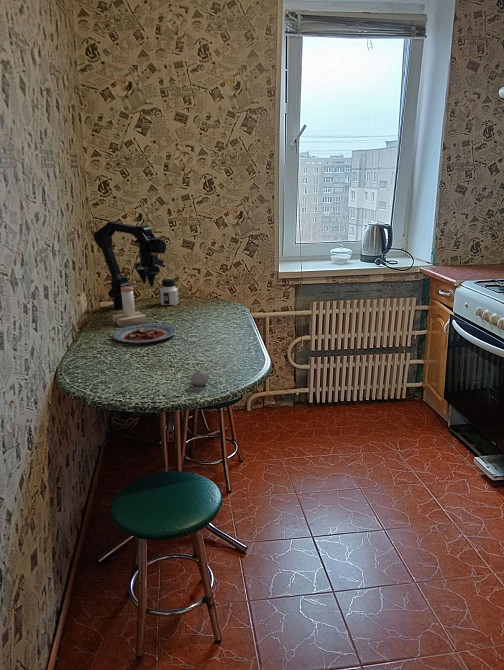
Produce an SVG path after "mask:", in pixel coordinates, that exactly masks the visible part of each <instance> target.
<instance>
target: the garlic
mask: <svg viewBox="0 0 504 670" xmlns="http://www.w3.org/2000/svg"><path fill="white" fill-rule="evenodd" d="M209 380H210V375H209V373H208V372H207V371H205V370H200V369H197V370H195V371H193V372H192V374H191V376H190V382H191V384H192V385H194V386H204V385H206V384H207V383H208V382H209Z"/></svg>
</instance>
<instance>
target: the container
mask: <svg viewBox="0 0 504 670" xmlns="http://www.w3.org/2000/svg"><path fill="white" fill-rule="evenodd" d="M161 287H162V289H160V291H159V292H160V293H159V294H160V295H159V296H160V305H173V306H177V305H178V304H179V293H178V292H179V291H178V287H176V281H175V278H174V279H173V278H170V277H169V278H168V277H167V278H163V279H162V280H161Z"/></svg>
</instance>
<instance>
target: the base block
mask: <svg viewBox="0 0 504 670" xmlns="http://www.w3.org/2000/svg"><path fill="white" fill-rule="evenodd" d="M112 322H113V323H115V324H116V325H118V326H120V327H121V328H125V327H128V326H133V325H140V324H148V315H146V314H144V313H142V312H140V311H139V310H135V316H132V317H124V314H123V312H122V313H121V312H120V313H116V314H112Z"/></svg>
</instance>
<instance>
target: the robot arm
mask: <svg viewBox="0 0 504 670" xmlns="http://www.w3.org/2000/svg"><path fill="white" fill-rule="evenodd" d="M116 232H119V233H122V234H123V233H124V234H129V235H132V236H133V237H134V238H136V240H134V244H138V252H139V253H138V255H137V257H138V258H139V261H136V262H134V264H133V268H134V270H135V271H136V273H137V274H138V276H139V278H140V280H141V282H142V283H143V284H147V283H146V282H148V284H149V286H150V287H151V288H152V287H153V286H154V283H155V278H156V275H158V274H159V273H160V272H161V271H160V270H161V268H160V267H162V268H163V267H164V262H165V260H164V259H161V258H159V256H158V255H154V254H165V252H166V250H167V244H166V242H165V241H164V238H158V237H157V236H156V235H155V233H154V232H153V230H152V228H151V226H150V225H147V224H145V225H143V224H142V225H140V224H139V225H133V224H128V223H124V222H118V221H115V220H112V221H107V222H106V224H105V225H103V226H102V227H101V228H99V229H98V230H97V231H94V233H93V237H92V238H93V240H94V242H95V244H96V246H97V247H99V248H100V249H101V251H102V254H103V257H104V259H105V262H106V265H107V268H108V271H109V275H110V276H111V281H110V287H111V289H110V290H109V292H107V295H108V298H112V305H111V309H113V310H123V304H122V294H121V287H124V286H130V285H131V283H130V282H129V279H128V277H127V276H124V275H122V272H121V270H120V266H119V263H118V261H117V259H116V256H115V253H114V250H113V238H112V236H114V235H115V233H116Z"/></svg>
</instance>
